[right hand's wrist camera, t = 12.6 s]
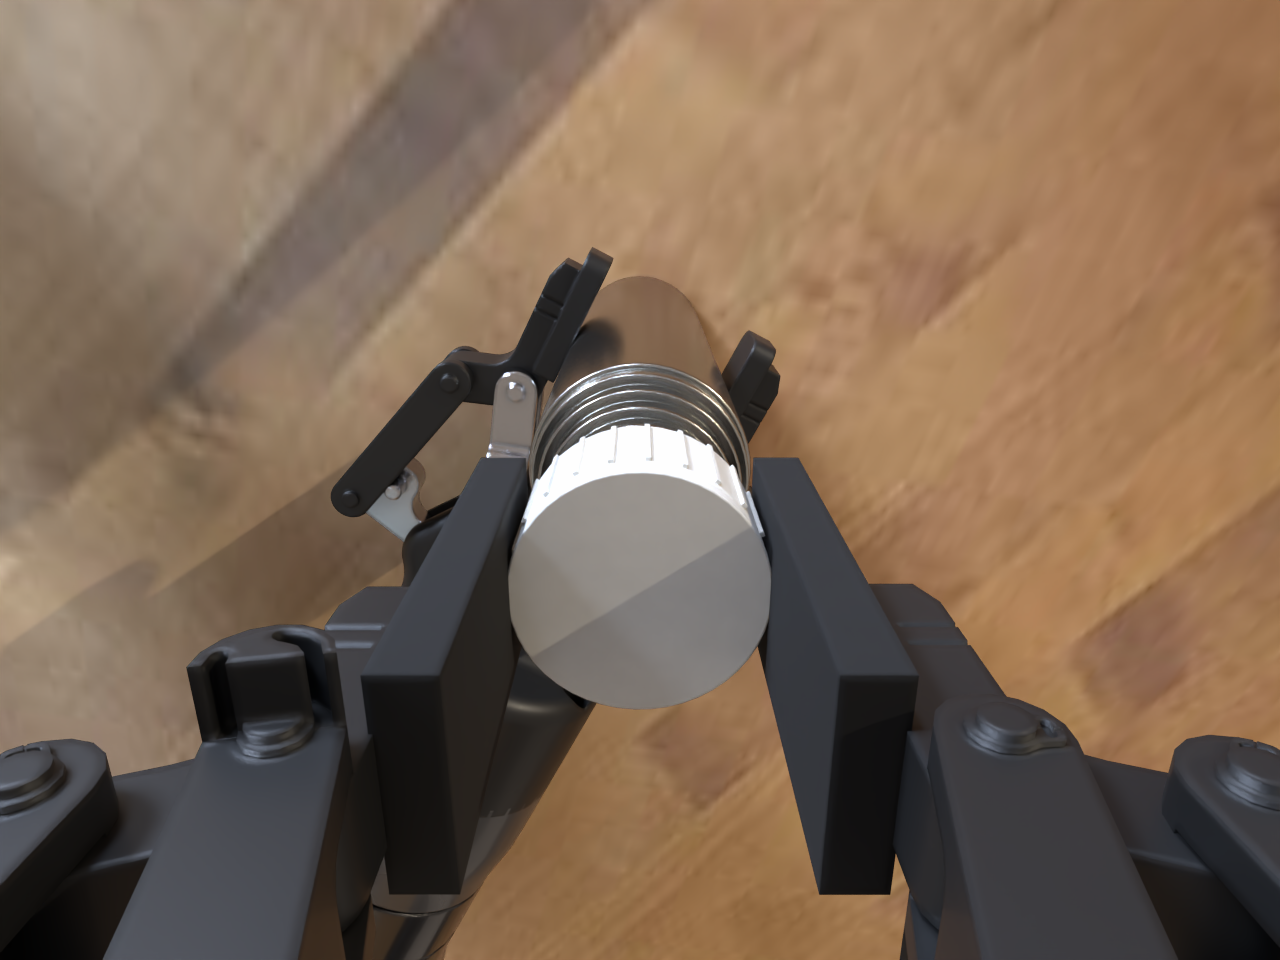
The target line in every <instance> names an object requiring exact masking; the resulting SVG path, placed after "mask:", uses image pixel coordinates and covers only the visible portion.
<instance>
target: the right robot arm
mask: <svg viewBox="0 0 1280 960" xmlns="http://www.w3.org/2000/svg"><path fill="white" fill-rule="evenodd" d="M752 499H753V502H754V505H755V508H756V511H757V513H758V516H759V519H760V522H761V525H762V528H763V531H764V534H765V536H764V537H762V540H763V543H764V546H765V549H766V552H767V555H768V558H769V562H770V566H771V591H770V608H769V620H768V624H767V627H766V630H765V632H764V634H763V636H762V638H761V640H760V642H759V644H758V649H759V653H760V658H761V662H762V666H763V670H764V674H765V678H766V682H767V686H768V690H769V694H770V698H771V702H772V706H773V710H774V714H775V718H776V722H777V726H778V730H779V734H780V738H781V742H782V746H783V750H784V754H785V758H786V762H787V766H788V770H789V774H790V778H791V782H792V786H793V790H794V794H795V799H796V803H797V807H798V811H799V815H800V819H801V823H802V827H803V831H804V835H805V839H806V843H807V847H808V851H809V855H810V859H811V863H812V867H813V871H814V875H815V879H816V883H817V887H818V891H819V895H890V892H891V885H892V877H893V869H894V862H895V854H896V855H897V858H898V860H899V863H900V866H901V868H902V871H903V874H904V876H905V879H906V882H907V884H908V887H909V890H910V891H909V898H908V905H907V912H906V919H905V926H904V933H903V940H902V947H901V954H900V960H1280V750H1279V749H1277V748H1275V747H1273V746H1271V745H1267V744H1264V743H1261V742H1258V741H1257V742H1253V740H1249V739H1244V738H1239V737H1227V736H1216V735H1206V736H1200V737H1195V738H1189V739H1186V740H1185V741H1184V742H1183V743H1182V744H1180V745H1179V746H1178V747H1177V748H1176V749H1175V750H1174V754H1173V758H1172V761H1171V765H1170V769H1169V773H1165V772H1160V771H1156V770H1151V769H1146V768H1141V767H1136V766H1131V765H1126V764H1121V763H1116V762H1111V761H1106V760H1103V759H1099V758H1095V757H1091V756H1087V755H1084V753H1083V751H1082V749H1081V747H1080V745H1079V742H1078V741H1077V739H1076V738H1075V737H1074V735H1073V734H1072V733H1071V732H1070V730H1069V729H1068V728H1067V726H1066V725H1065V724H1064V723H1062V722H1061V721H1059V720H1058V719H1056V718H1055V717H1054V716H1052V715H1051V714H1049V713H1048V712H1046V711H1045V710H1043V709H1041V708H1038V707H1036V706H1033V705H1031V704H1029V703H1026V702H1024V701H1021V700H1019V699H1015V698H1010V697H1006V695H1005V694H1004V692H1003V691H1002V690H1001V688H1000V687H999V685H998V684H997V682H996V681H995V680H994V678H993V677H992V675H991V674H990V672H989V671H988V670H987V668H986V667H985V665H984V664H983V662H982V661H981V660H980V658H979V657H978V655H977V654H976V652H975V651H974V650H973V648H972V647H971V645H967V640H966V638H965V637H964V635H963V634H962V632H961V631H960V630H959V628H958V627H955V622H954V621H953V619H952V618H951V617H950V615H949V614H948V612H947V611H946V609H945V608H944V607H943V605H942V604H941V602H939V601H938V600H936V599H935V598H933V597H932V596H930V595H929V594H927V593H926V592H924V591H923V590H921V589H920V588H918V587H916V586H915V585H913V584H868V582H867V581H866V579H865V577H864V575H863V573H862V572H861V570H860V568H859V566H858V564H857V563H856V561H855V559H854V557H853V555H852V554H851V552H850V550H849V548H848V546H847V545H846V543H845V541H844V539H843V537H842V536H841V534H840V532H839V530H838V528H837V527H836V525H835V523H834V521H833V519H832V518H831V516H830V514H829V512H828V510H827V509H826V507H825V505H824V503H823V501H822V500H821V498H820V496H819V494H818V492H817V491H816V489H815V487H814V485H813V483H812V482H811V480H810V478H809V476H808V474H807V472H806V471H805V469H804V467H803V465H802V463H801V462H800V460H799V458H753V479H752ZM527 503H528V490H527V469H526V458H481V459H480V461H479V462H478V464H477V466H476V468H475V470H474V472H473V473H472V475H471V477H470V479H469V481H468V482H467V484H466V486H465V488H464V490H463V491H462V493H461V495H460V497H459V499H458V500H457V502H456V504H455V506H454V508H453V509H452V511H451V513H450V515H449V517H448V518H447V520H446V522H445V524H444V526H443V527H442V529H441V531H440V533H439V535H438V536H437V538H436V540H435V542H434V544H433V545H432V547H431V549H430V551H429V553H428V554H427V556H426V558H425V560H424V562H423V563H422V565H421V567H420V569H419V571H418V572H417V574H416V576H415V578H414V580H413V581H412V583H411V585H410V587H366V588H364V589H363V590H361V591H360V592H358V593H357V594H355V595H354V596H352V597H351V598H349V599H348V600H346V601H345V602H343V603H342V604H340V605H339V606H338V608H337V609H336V611H335V612H334V614H333V615H332V616H331V618H330V619H329V621H328V622H327V624H326V625H325V630H321V629H317V628H313V627H309V626H305V625H273V626H268V627H262V628H256V629H251V630H247V631H244V632H241V633H239V634H236V635H233V636H230V637H227V638H225V639H222V640H220V641H219V642H217V643H215V644H213V645H212V646H210V647H208V648H207V649H205V650H203V651H202V652H200V653H199V654H198V655H197V656H196V657H195V659H194V660H193V661H192V662H191V663H190V664H189V665H188V666H187V667H186V668H187V672H188V677H189V682H190V686H191V691H192V696H193V700H194V705H195V710H196V714H197V719H198V724H199V728H200V733H201V738H202V744H201V746H200V748H199V750H198V753H197V755H196V757H195V759H191V760H187V761H184V762H180V763H176V764H172V765H168V766H163V767H158V768H153V769H148V770H143V771H138V772H133V773H128V774H123V775H118V776H113V777H112V775H111V772H110V768H109V764H108V760H107V756H106V753H105V752H104V751H102V750H101V749H100V748H99V747H98V746H97V745H95V744H94V743H91V742H86V741H81V740H75V739H63V740H52V741H41V742H36V743H31V744H27V746H19V747H16V748H13V749H10V750H7V751H5V752H3V753H2V754H0V960H372V958H373V949H374V940H375V932H376V926H375V919H374V912H373V905H372V898H371V890H372V887H373V884H374V882H375V879H376V876H377V874H378V871H379V868H380V866H381V863H382V860H383V858H384V859H385V866H386V874H387V881H388V889H389V895H460V893H461V889H462V885H463V881H464V877H465V873H466V869H467V865H468V861H469V857H470V853H471V849H472V845H473V841H474V837H475V833H476V829H477V825H478V821H479V816H480V812H481V808H482V804H483V800H484V796H485V792H486V788H487V784H488V780H489V776H490V772H491V768H492V764H493V760H494V756H495V752H496V748H497V744H498V740H499V736H500V732H501V728H502V724H503V720H504V716H505V712H506V708H507V704H508V700H509V696H510V692H511V688H512V684H513V680H514V676H515V672H516V667H517V663H518V659H519V655H520V651H521V647H522V645H521V643H520V641H519V639H518V638H517V636H516V633H515V631H514V628H513V625H512V623H511V616H510V601H509V584H508V569H509V564H510V559H511V556H512V547H513V544H514V541H515V538H516V535H517V532H518V529H519V526H520V523H521V520H522V517H523V514H524V511H525V508H526V506H527Z"/></svg>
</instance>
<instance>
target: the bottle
mask: <svg viewBox="0 0 1280 960" xmlns="http://www.w3.org/2000/svg"><path fill="white" fill-rule="evenodd" d="M645 424H650V427H658V428H663V429H668V430H672V431H676V432H677V431H678V430H681V431H683V434H684V435H687V436H689V437H692V438H693V439H695V440H697V441H699V442H701V443H703V444H704V445H706V446H707V444H710V445H711V446H712V448H713V451H714V452H716V453H717V454H718V455H719V456H720V457H721V458H722V459H723V460H724V461H725V462H726V463H727V464H728V465H729V466H731V465H733V466H734V467H735V468H736V472H737V475H738V478H739V480H740V482H741V483H742V485H743V487H744V489H745V491H746V492H748V488H749V483H750V474H751V460H750V452H749V446H748V442H747V439H746V436H745V433H744V430H743V427H742V425H741V422H740V420H739V417H738V415H737V412H736V410H735V407H734V405H733V403H732V400H731V398H730V395H729V393H728V390H727V388H726V385H725V383H724V380H723V378H722V375H721V373H720V370H719V368H718V365H717V363H716V360H715V358H714V356H713V353H712V351H711V348H710V346H709V343H708V341H707V338H706V336H705V333H704V331H703V328H702V326H701V323H700V321H699V318H698V316H697V314H696V312H695V309H694V307H693V306H692V304H691V303H690V301H689V300H688V299H687V298H686V297H685V295H684V294H683V293H681V292H680V291H679V290H678V289H677V288H675V287H674V286H672V285H671V284H669V283H667V282H665V281H662V280H659V279H656V278H652V277H644V276H636V277H628V278H623V279H620V280H618V281H615V282H613V283H611V284H609V285H607V286H606V287H604V288H603V289H602V290H600V291H599V292H598V293H597V295H596V297H595V299H594V301H593V303H592V305H591V307H590V309H589V312H588V314H587V316H586V318H585V320H584V322H583V324H582V326H581V328H580V330H579V332H578V334H577V336H576V338H575V340H574V342H573V344H572V346H571V348H570V349H569V351H568V353H567V355H566V357H565V360H564V362H563V364H562V367H561V369H560V372H559V374H558V377H557V379H556V382H555V384H554V387H553V389H552V392H551V394H550V397H549V399H548V402H547V404H546V406H545V409H544V411H543V414H542V416H541V419H540V421H539V424H538V426H537V429H536V431H535V434H534V438H533V441H532V444H531V450H530V456H529V478H530V486H531V490H532V488H533V485H534V482H535V480H536V479H539V480H540V479H541V477H542V476H543V475H544V473H545V472H546V470H547V469H548V468H549V466H550V465H551V464H552V462H553V459H554V457H555V456H556V455H558V456H560V455H562V454H563V453H564V452H565V451H567V450H568V449H569V448H571V447H572V446H574V445H575V444H577V443H579V441H580V438H582V437H585V438H588V437H591V436H593V435H595V434H598V433H601V432H604V431H608V430H611V427H613V426H616V427H617V428H623V427H630V426H645Z"/></svg>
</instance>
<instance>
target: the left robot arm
mask: <svg viewBox="0 0 1280 960" xmlns="http://www.w3.org/2000/svg"><path fill="white" fill-rule="evenodd" d="M612 261H613V258H612V257H610V256H609V255H607V254H605V253H603V252H601V251H599V250H597V249H595V248H593V247H592V249H591V250H590V252H589V254H588V256H587V258H586V260H585V262H584V264H583V265H581V264H579V263H578V262H576V261H574V260H572V259H570V258H567V259H566V260H565V261H564V262H563V263H562V264H561V265H560V266H559V267H557V268H556V269H555V270H554V271H553V273H552V274H551V275H550V276H549V278H548V281H547V283H546V285H545V287H544V289H543V291H542V294H541V296H540V298H539V300H538V302H537V304H536V306H535V309H534V311H533V313H532V315H531V317H530V319H529V321H528V323H527V326H526V328H525V330H524V332H523V334H522V336H521V339H520V341H519V343H518V345H517V347H516V349H514V350H513V351H511V352H509V353H506V354H500V355H499V354H489V353H481V352H479V351H477V350H476V349H474V348H472V347H469V346H461V347H458V348H456V349H454V350H453V351H452V352H451V353H450V354H449V355H448V356H447V357H446V358H445V359H444V360H443V361H442V362H441V363H439V364H438V365H437V366H436V367H435V368H434V369H433V370H432V371H431V372H430V374H429V375H428V376H427V377H426V378H425V379H424V381H423V382H422V383H421V384H420V385H419V387H418V388H417V389H416V390H415V391H414V392H413V394H412V395H411V396H410V397H409V398H408V400H407V401H406V402H405V403H404V404H403V405H402V407H401V408H400V409H399V410H398V411H397V413H396V414H395V415H394V416H393V417H392V418H391V420H390V421H389V422H388V423H387V424H386V426H385V427H384V428H383V429H382V430H381V431H380V433H379V434H378V435H377V436H376V437H375V439H374V440H373V441H372V442H371V443H370V444H369V446H368V447H367V448H366V449H365V450H364V452H363V453H362V454H361V455H360V456H359V457H358V459H357V460H356V461H355V462H354V463H353V465H352V466H351V467H350V468H349V469H348V470H347V472H346V473H345V474H344V475H343V476H342V478H341V479H340V480H339V481H338V482H337V483H336V485H335V486H334V487H333V489H332V492H331V501H332V504H333V506H334V507H335V509H336V510H337V511H338V512H340V513H341V514H343V515H345V516H348V517H358V516H361V515H363V514H365V513H367V514H368V515H369V516H371V517H372V518H373V519H374V520H376V521H377V522H378V523H380V524H381V525H382V526H384V527H385V528H386V529H387V530H389V531H390V532H391V533H393V534H394V535H395V536H397V537H398V538H399V539H400V540H402V541H403V542H404V543H403V548H402V558H403V563H404V579H403V584H402V586H401V587H410V585H411V583H412V581H413V580H414V578H415V576H416V574H417V572H418V571H419V569H420V567H421V565H422V563H423V562H424V560H425V558H426V556H427V554H428V553H429V551H430V549H431V547H432V545H433V544H434V542H435V540H436V538H437V536H438V535H439V533H440V531H441V529H442V527H443V526H444V524H445V522H446V520H447V518H448V517H449V515H450V513H451V511H452V509H453V508H454V506H455V504H456V502H457V500H458V499H459V497H460V495H459V496H457V497H455V498H453V499H451V500H449V501H447V502H445V503H443V504H441V505H438V506H436V507H434V508H432V509H430V510H428V511H427V510H426V509H425V508H424V507H423V506H422V504H421V502H420V498H419V493H420V489H421V487H422V486H423V484H424V482H425V479H426V473H425V470H424V467H423V466H422V464H421V463H420V462H419V461H417V460H416V459H415V458H414V457H415V456H416V455H417V454H418V452H419V451H420V450H421V449H422V448H423V447H424V446H425V444H426V443H427V442H428V441H429V440H430V439H431V437H432V436H433V435H434V434H435V433H436V432H437V431H438V429H439V428H440V427H441V426H442V425H443V424H444V423H445V421H446V420H447V419H448V418H449V417H450V416H451V414H452V413H453V412H454V411H455V410H456V409H457V408H458V406H459V405H460V404H461V403H462V402H469V403H478V404H486V405H493V414H492V425H491V435H490V444H489V449H488V453H487V457H486V458H526V469H527V490H528V500H529V497H530V494H531V491H532V490H531V486H530V478H529V456H530V450H531V444H532V441H533V438H534V434H535V431H536V429H537V426H538V424H539V421H540V419H541V413H542V404H543V396H544V387H545V385H546V383H547V381H548V380H549V381H551V382H553V383H554V381H555V379H556V377H557V375H558V373H559V371H560V369H561V367H562V364H563V362H564V360H565V357H566V355H567V353H568V351H569V349H570V348H571V346H572V344H573V342H574V340H575V338H576V336H577V334H578V332H579V330H580V328H581V326H582V324H583V322H584V320H585V318H586V316H587V314H588V312H589V309H590V307H591V305H592V303H593V301H594V299H595V297H596V295H597V293H598V291H599V289H600V287H601V285H602V283H603V281H604V279H605V277H606V275H607V273H608V270H609V268H610V266H611V264H612ZM775 353H776V349H775V348H774V346H773V345H772V344H771V343H770V341H768V340H766V339H765V338H763V337H761V336H759V335H757V334H755V333H753V332H751V331H747V332H746V333H745V335H744V336H743V338H742V339H741V341H740V343H739V344H738V346H737V348H736V350H735V351H734V353H733V355H732V357H731V359H730V360H729V362H728V364H727V366H726V368H725V369H724V371H723V373H722V378H723V380H724V383H725V385H726V388H727V390H728V393H729V395H730V398H731V400H732V403H733V405H734V407H735V410H736V412H737V415H738V417H739V420H740V422H741V425H742V427H743V430H744V433H745V436H746V439H747V442H748V443H749V442H750V440H751V438H752V437H753V435H754V433H755V431H756V430H757V428H758V426H759V425H760V422H761V421H762V420H763V418H764V416H765V414H766V413H767V410H768V409H769V408H770V406H771V404H772V403H773V401H774V399H775V397H776V396H777V394H778V388H779V381H780V375H779V373H778V372H777V370H776V369H775V367H774V366H773V365H771V364H772V362H773V359H774V357H775ZM748 491H750V493H751V496H752V487H751V486H749V488H748ZM595 705H596V702H593V701H589V700H586V699H584V698H582V697H580V696H578V695H576V694H573V693H571V692H570V691H568V690H566V689H565V688H563V687H561V686H560V685H558V684H557V683H556V682H554V681H553V680H552V679H551V678H549V677H548V676H547V675H545V674H544V673H543V672H542V670H541V669H540V668H539V667H538V666H537V665H536V664H535V663H534V662H533V661H532V659H531V658H530V657H529V655H528V654H527V653H526V651H525V650H524V648H523V647H521V651H520V655H519V659H518V663H517V667H516V672H515V676H514V680H513V684H512V688H511V692H510V696H509V700H508V704H507V708H506V712H505V716H504V720H503V724H502V728H501V732H500V736H499V740H498V744H497V748H496V752H495V756H494V760H493V764H492V768H491V772H490V776H489V780H488V784H487V788H486V792H485V796H484V800H483V804H482V808H481V812H480V816H479V821H478V825H477V829H476V833H475V837H474V841H473V845H472V849H471V853H470V857H469V861H468V865H467V869H466V873H465V877H464V881H463V885H462V889H461V893H460V895H389V889H388V881H387V874H386V866H385V859H384V858H383V860H382V863H381V866H380V868H379V871H378V874H377V876H376V879H375V882H374V884H373V887H372V890H371V898H372V905H373V912H374V919H375V926H376V932H375V940H374V949H373V958H372V960H444V956H445V952H446V947H447V945H448V943H449V941H450V939H451V937H452V936H453V934H454V932H455V930H456V929H457V927H458V925H459V924H460V922H461V920H462V918H463V917H464V915H465V913H466V912H467V910H468V908H469V906H470V905H471V903H472V901H473V900H474V898H475V896H476V894H477V893H478V891H479V889H480V888H481V886H482V884H483V882H484V880H485V879H486V877H487V876H488V875H489V873H490V872H491V871H492V870H493V868H494V867H495V866H496V865H497V864H498V863H499V861H500V860H501V859H502V858H503V857H504V856H505V854H506V853H507V852H508V850H509V849H510V848H511V846H512V845H513V843H514V842H515V840H516V839H517V837H518V836H519V834H520V832H521V831H522V829H523V828H524V826H525V824H526V822H527V821H528V819H529V817H530V816H531V814H532V812H533V811H534V809H535V807H536V806H537V804H538V802H539V800H540V799H541V797H542V795H543V793H544V792H545V790H546V788H547V787H548V785H549V783H550V781H551V780H552V778H553V776H554V775H555V773H556V771H557V770H558V768H559V766H560V765H561V763H562V761H563V759H564V758H565V756H566V754H567V753H568V751H569V749H570V748H571V746H572V744H573V742H574V741H575V739H576V737H577V736H578V734H579V732H580V730H581V729H582V727H583V725H584V724H585V722H586V720H587V719H588V717H589V715H590V713H591V712H592V710H593V708H594V707H595Z"/></svg>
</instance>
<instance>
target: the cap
mask: <svg viewBox="0 0 1280 960" xmlns="http://www.w3.org/2000/svg"><path fill="white" fill-rule="evenodd" d="M764 536H765V534H764V531H763V528H762V525H761V522H760V519H759V516H758V513H757V511H756V508H755V505H754V502H753V499H752V496H751V493H750V491H748V492H746V491H745V489H744V487H743V485H742V483H741V482H740V480H739V478H738V475H737V472H736V468H735V467H734V466H733V465H731V466H729V465H728V464H727V463H726V462H725V461H724V460H723V459H722V458H721V457H720V456H719V455H718V454H717V453H716V452H714V451H713V448H712V446H711V445H710V444H707V446H706V445H704V444H703V443H701V442H699V441H697V440H695V439H693V438H692V437H689V436H687V435H684V434H683V431H681V430H678V431H677V432H676V431H672V430H668V429H663V428H658V427H650V424H645V426H630V427H623V428H617V427H616V426H613V427H611V430H608V431H604V432H601V433H598V434H595V435H593V436H591V437H588V438H585V437H582V438H580V441H579V443H577V444H575V445H574V446H572V447H571V448H569V449H568V450H567V451H565V452H564V453H563V454H562V455H560V456H558V455H556V456H555V457H554V459H553V462H552V464H551V465H550V466H549V468H548V469H547V470H546V472H545V473H544V475H543V476H542V477H541V479H540V480H539V479H536V480H535V482H534V485H533V488H532V491H531V494H530V497H529V500H528V503H527V506H526V508H525V511H524V514H523V517H522V520H521V523H520V526H519V529H518V532H517V535H516V538H515V541H514V544H513V547H512V556H511V559H510V564H509V569H508V584H509V601H510V616H511V623H512V625H513V628H514V631H515V633H516V636H517V638H518V639H519V641H520V643H521V645H522V647H523V648H524V650H525V651H526V653H527V654H528V655H529V657H530V658H531V659H532V661H533V662H534V663H535V664H536V665H537V666H538V667H539V668H540V669H541V670H542V672H543V673H544V674H545V675H547V676H548V677H549V678H551V679H552V680H553V681H554V682H556V683H557V684H558V685H560V686H561V687H563V688H565V689H566V690H568V691H570V692H571V693H573V694H576V695H578V696H580V697H582V698H584V699H586V700H589V701H593V702H596V703H599V704H602V705H606V706H611V707H616V708H625V709H655V708H663V707H669V706H673V705H677V704H681V703H684V702H687V701H690V700H693V699H695V698H698V697H700V696H702V695H704V694H706V693H708V692H710V691H712V690H713V689H715V688H716V687H718V686H719V685H721V684H722V683H724V682H725V681H727V680H728V679H729V678H730V677H731V676H733V675H734V674H735V673H736V672H737V671H738V670H739V669H740V668H741V667H742V666H743V665H744V664H745V662H746V661H747V660H748V659H749V658H750V656H751V655H752V653H753V652H754V650H755V649H756V647H757V646H758V644H759V642H760V640H761V638H762V636H763V634H764V632H765V630H766V627H767V624H768V620H769V608H770V591H771V566H770V562H769V558H768V555H767V552H766V549H765V546H764V543H763V540H762V537H764Z"/></svg>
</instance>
